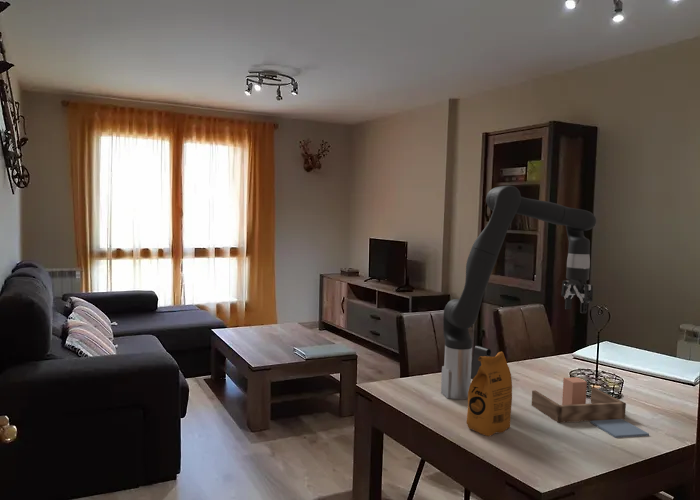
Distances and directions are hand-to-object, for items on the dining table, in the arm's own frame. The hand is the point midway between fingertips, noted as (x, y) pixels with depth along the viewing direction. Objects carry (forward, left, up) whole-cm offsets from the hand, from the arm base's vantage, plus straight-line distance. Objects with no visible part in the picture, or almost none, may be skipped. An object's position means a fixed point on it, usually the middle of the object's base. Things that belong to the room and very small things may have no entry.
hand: (575, 311), depth 187 cm
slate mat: (-8, -34, -29) cm, 45 cm away
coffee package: (-47, -28, -29) cm, 62 cm away
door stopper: (-27, +18, -29) cm, 44 cm away
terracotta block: (-12, -18, -29) cm, 36 cm away
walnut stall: (-12, -20, -29) cm, 37 cm away
